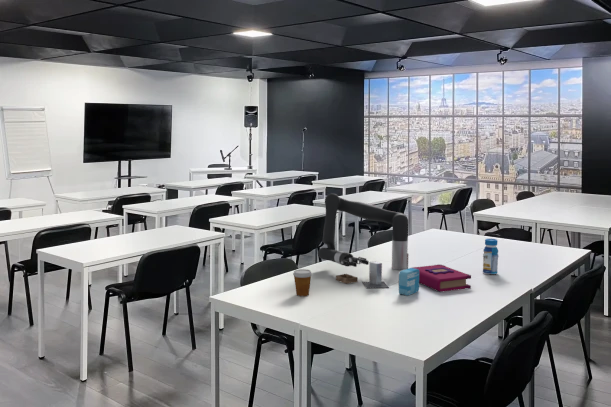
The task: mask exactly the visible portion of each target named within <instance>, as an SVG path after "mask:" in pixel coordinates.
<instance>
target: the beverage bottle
mask: <svg viewBox="0 0 611 407" xmlns="http://www.w3.org/2000/svg"><path fill="white" fill-rule="evenodd" d="M484 245H485V246H484V248H483V253H482V257H483V260H482V261H483V262H482V273H483V274H484V275H487V274H496V275H498V273H499V272H498V264H499V262H498V261H499V248H498V247H497V246H498V239H496V238H485V240H484Z"/></svg>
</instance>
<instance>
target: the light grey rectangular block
mask: <svg viewBox="0 0 611 407" xmlns="http://www.w3.org/2000/svg"><path fill="white" fill-rule="evenodd" d="M368 265H369V272H368V274H369V275H368V277H369V278H368V279H369V280H368V282H369V284H371V285H374V286H380V285H382V281H383V280H382V279H383V278H382V274H383V273H382V272H383V263H381V262H379V261H377V260H372V261H369V264H368Z"/></svg>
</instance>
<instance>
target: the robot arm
mask: <svg viewBox="0 0 611 407" xmlns="http://www.w3.org/2000/svg"><path fill="white" fill-rule="evenodd" d="M324 204H325V205H324V206H325V218H324V225H323V232H322V233H323V234H322V244H325V245H326V247H321V248H319V249H318V251H317V255H318V257H319V258H320V259H321V260H325V261H330V262H333V263H336V264H339V265H341V266H343V267H344V266H345V267H353V268H357V265H362V264H363V265H369V262H370V261H369V260H367V258H365V257H361V256H358V257H357V256H356V257H355V256H354V255H353V254H352V253H350V252H345V251H342V250H341V251H340V250H338V249H337V250H336V246H335V245H336V244H335V236H336V219H337V213H338V212H344V213H347V214H350V215H352V216H354V217H357V218H360V219H361V218H362V219H365V220H367V221H372V222H373V221H375V222H382V223H383V222H384V223H385V224H386V223H387V224H389V225H392V234H391V238H392V239H391V268H392V270H398V271H402V270H405V269H409V256H410V255H409V251H408V250H409V248H408V245H409V219H408V216H407V215H406V214H405V213H403V212H398V211H397V212H396V211H391V210H387V209H384V208H381V207H378V206H376V205H373V204H369V203H367V202H361V201H353V200H348V199H345V198H342V197H340V196H339V195H338V194H336V193H329V194H327V195H326V197H325V198H324Z"/></svg>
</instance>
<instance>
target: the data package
mask: <svg viewBox="0 0 611 407" xmlns="http://www.w3.org/2000/svg"><path fill="white" fill-rule="evenodd" d="M419 290H420V283H419V269H415V268H413V267H408V269H405V270H399V273H398V294H399V295H402V296H403V295H404V296H411V295H413V294H415V293H418V292H419Z"/></svg>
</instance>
